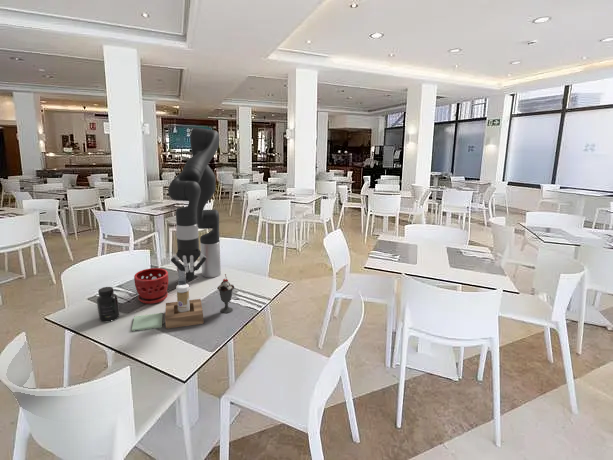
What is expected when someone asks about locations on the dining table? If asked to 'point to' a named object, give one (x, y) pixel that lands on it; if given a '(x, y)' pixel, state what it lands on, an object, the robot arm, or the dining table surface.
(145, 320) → the green mat
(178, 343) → the dining table surface
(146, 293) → the plant pot
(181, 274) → the bar
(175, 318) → the walnut dock
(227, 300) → the sundae
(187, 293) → the sprinkles bottle
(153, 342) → the dining table surface
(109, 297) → the supplement bottle
